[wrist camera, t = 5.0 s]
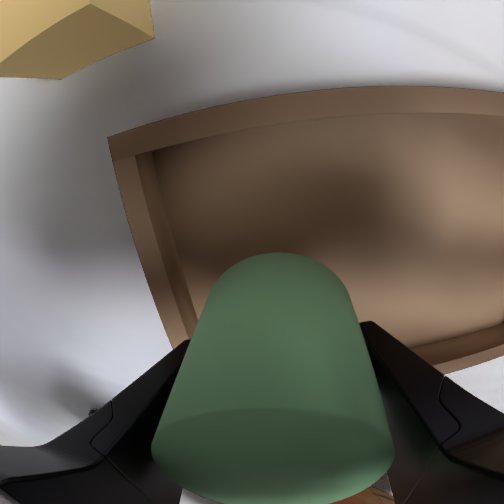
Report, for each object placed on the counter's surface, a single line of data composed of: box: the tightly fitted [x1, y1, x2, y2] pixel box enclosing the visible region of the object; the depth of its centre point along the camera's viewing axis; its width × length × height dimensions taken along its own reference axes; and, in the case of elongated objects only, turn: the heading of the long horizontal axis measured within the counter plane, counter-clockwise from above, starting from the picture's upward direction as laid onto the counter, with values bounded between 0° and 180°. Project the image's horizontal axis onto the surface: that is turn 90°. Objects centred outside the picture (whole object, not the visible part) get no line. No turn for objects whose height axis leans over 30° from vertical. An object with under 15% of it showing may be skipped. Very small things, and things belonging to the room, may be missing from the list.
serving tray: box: [107, 86, 504, 375], centre depth 13 cm, size 14×20×2 cm
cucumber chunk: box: [151, 252, 395, 504], centre depth 7 cm, size 5×5×6 cm
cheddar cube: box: [0, 0, 155, 80], centre depth 8 cm, size 6×6×6 cm
